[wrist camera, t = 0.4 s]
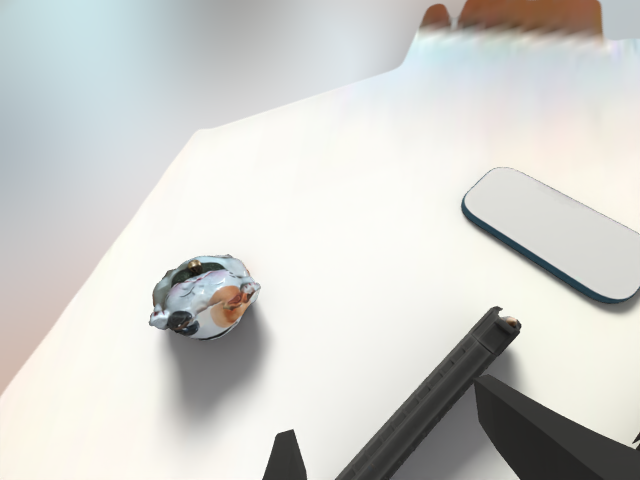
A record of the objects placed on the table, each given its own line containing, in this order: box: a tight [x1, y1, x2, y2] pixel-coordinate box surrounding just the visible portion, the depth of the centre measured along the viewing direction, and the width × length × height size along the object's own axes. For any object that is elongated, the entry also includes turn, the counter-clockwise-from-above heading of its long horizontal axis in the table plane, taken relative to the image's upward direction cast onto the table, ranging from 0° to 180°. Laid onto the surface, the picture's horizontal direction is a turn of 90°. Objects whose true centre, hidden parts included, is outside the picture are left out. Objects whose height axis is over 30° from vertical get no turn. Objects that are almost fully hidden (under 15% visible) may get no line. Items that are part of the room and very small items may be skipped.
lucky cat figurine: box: [149, 254, 261, 341], centre depth 42 cm, size 15×12×14 cm
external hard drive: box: [461, 167, 640, 303], centre depth 43 cm, size 24×12×2 cm, turn 42°
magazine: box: [335, 306, 521, 480], centre depth 32 cm, size 17×3×30 cm
